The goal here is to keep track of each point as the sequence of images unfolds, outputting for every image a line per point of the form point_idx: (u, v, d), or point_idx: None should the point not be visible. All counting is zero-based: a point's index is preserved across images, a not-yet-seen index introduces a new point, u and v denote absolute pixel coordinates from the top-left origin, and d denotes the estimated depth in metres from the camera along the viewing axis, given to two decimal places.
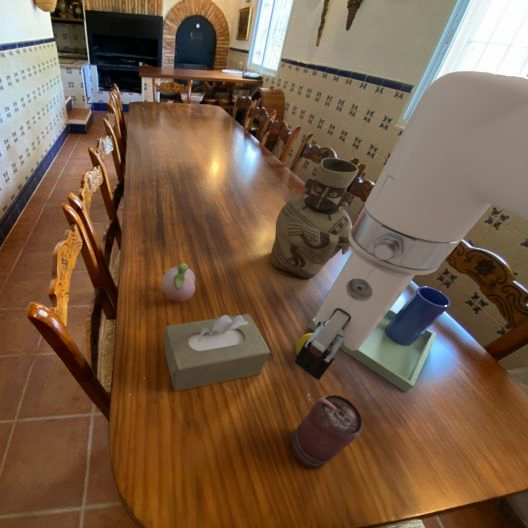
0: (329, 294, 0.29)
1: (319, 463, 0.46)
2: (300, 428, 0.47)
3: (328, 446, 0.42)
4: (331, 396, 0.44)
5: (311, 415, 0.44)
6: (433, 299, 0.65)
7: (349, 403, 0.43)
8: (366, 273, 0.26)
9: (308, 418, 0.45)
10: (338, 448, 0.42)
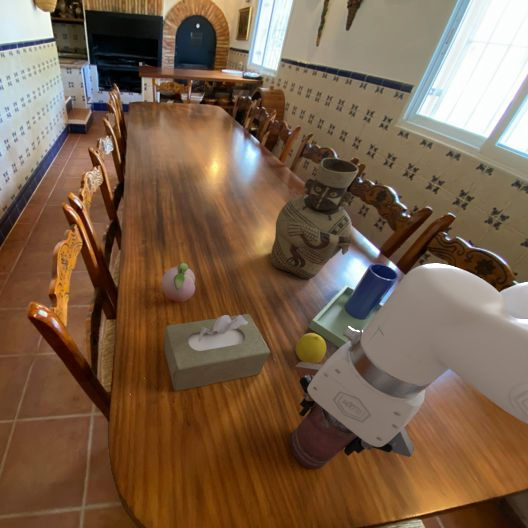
0: None
1: (319, 463, 0.46)
2: (300, 428, 0.47)
3: (328, 446, 0.42)
4: None
5: (311, 415, 0.44)
6: None
7: None
8: (342, 346, 0.37)
9: (308, 418, 0.45)
10: (338, 448, 0.42)
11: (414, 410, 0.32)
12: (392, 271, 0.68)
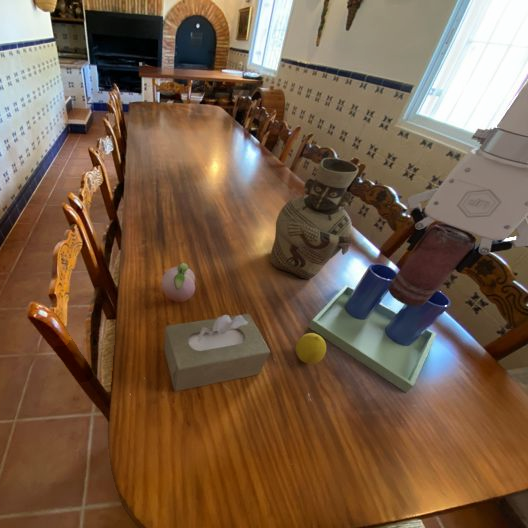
0: None
1: (425, 294, 0.51)
2: (405, 266, 0.52)
3: (441, 265, 0.47)
4: (440, 225, 0.48)
5: (421, 244, 0.49)
6: (433, 299, 0.65)
7: (458, 229, 0.48)
8: None
9: (416, 250, 0.50)
10: (451, 266, 0.47)
11: None
12: (392, 271, 0.68)
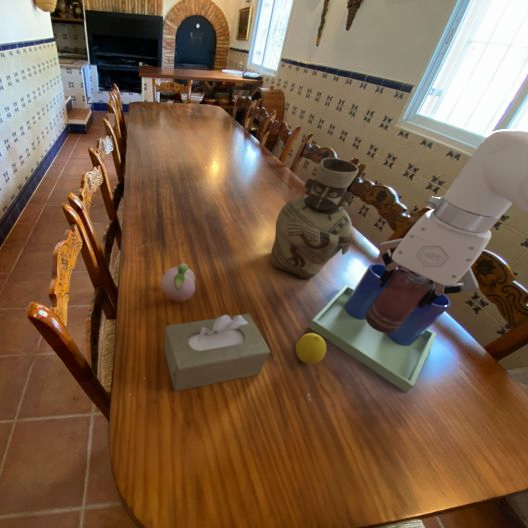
0: None
1: (394, 324, 0.60)
2: (378, 300, 0.61)
3: (406, 302, 0.56)
4: None
5: (390, 283, 0.58)
6: None
7: None
8: None
9: (387, 287, 0.59)
10: (414, 303, 0.56)
11: (485, 242, 0.45)
12: None
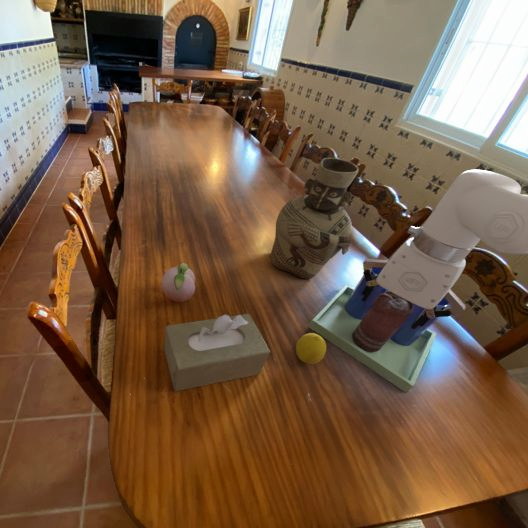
0: None
1: (378, 344, 0.64)
2: (363, 321, 0.65)
3: (388, 325, 0.60)
4: (388, 292, 0.62)
5: (374, 306, 0.62)
6: None
7: None
8: None
9: (371, 310, 0.63)
10: (395, 326, 0.60)
11: (459, 271, 0.49)
12: None
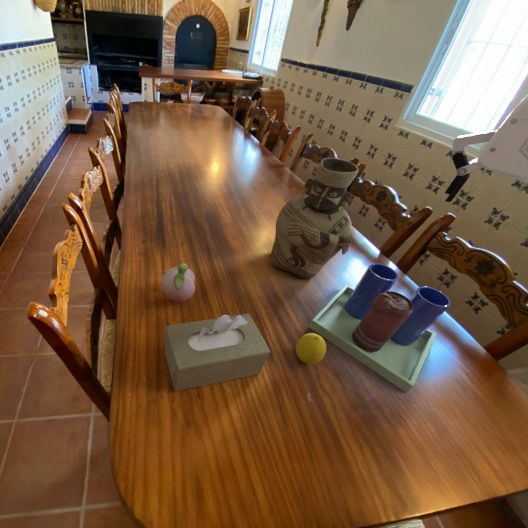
0: None
1: (378, 344, 0.64)
2: (363, 321, 0.65)
3: (388, 325, 0.60)
4: (388, 292, 0.62)
5: (374, 306, 0.62)
6: (433, 299, 0.65)
7: (402, 296, 0.61)
8: None
9: (371, 310, 0.63)
10: (395, 326, 0.60)
11: None
12: (392, 271, 0.68)
